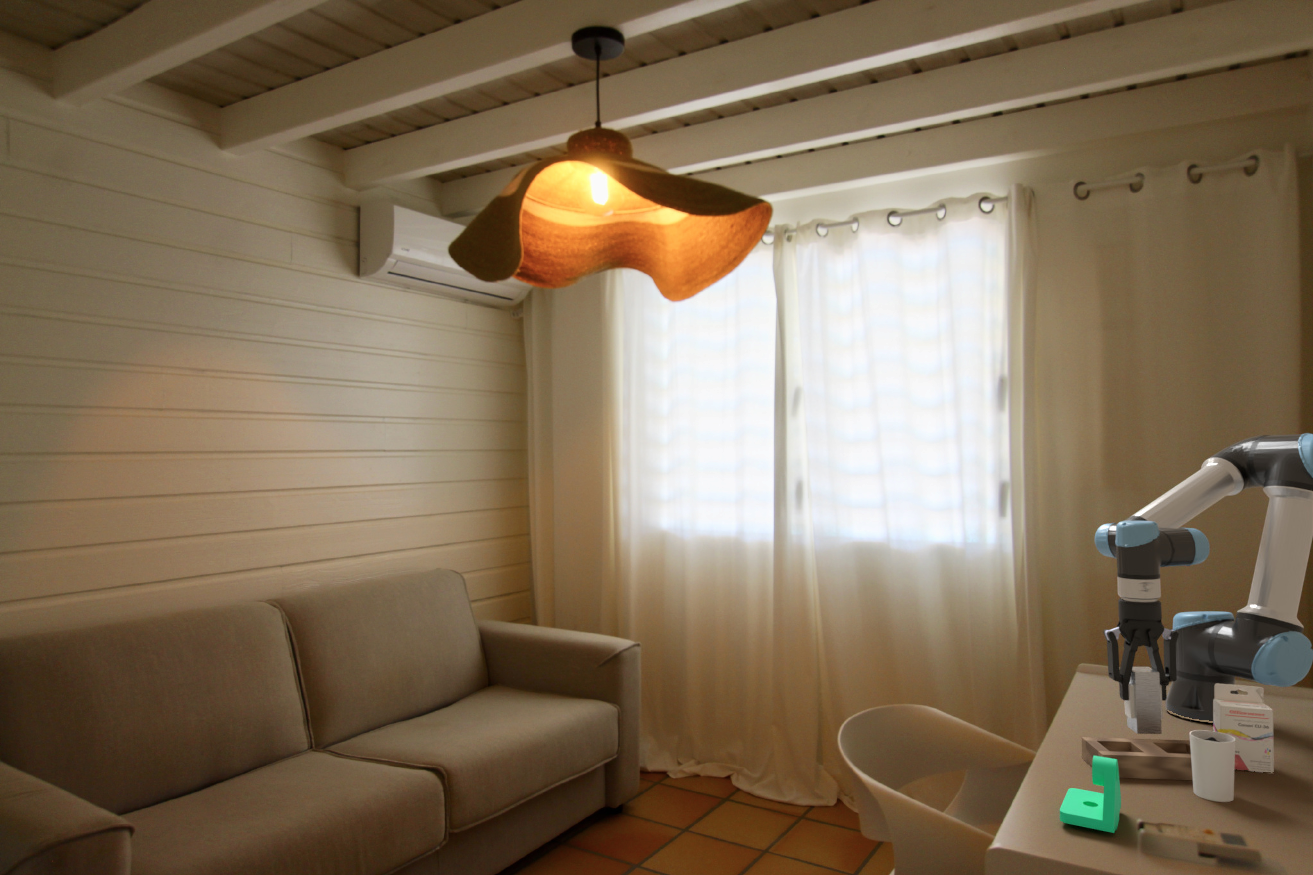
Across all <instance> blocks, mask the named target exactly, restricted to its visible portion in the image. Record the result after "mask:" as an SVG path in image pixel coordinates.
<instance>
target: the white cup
mask: <svg viewBox="0 0 1313 875" xmlns="http://www.w3.org/2000/svg"><path fill="white" fill-rule="evenodd" d="M1189 740H1190V748H1191V762H1192V776H1193V780H1192V787H1193V788H1192V790H1193V794H1195V795H1196V796H1197V797H1199V798H1202V799H1204V800H1207V801H1213V802H1221V803H1229V802H1231V801H1234V798H1235V797H1234V794H1235V791H1234V790H1235V769H1234V766H1235V738H1234V737H1232V736H1230V735H1228V734H1224V733H1220V732H1215V731H1213V730H1206V729H1196V730H1195V729H1193V730H1192V731H1189Z"/></svg>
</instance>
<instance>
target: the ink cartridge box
mask: <svg viewBox="0 0 1313 875" xmlns="http://www.w3.org/2000/svg"><path fill="white" fill-rule="evenodd" d="M1236 690H1238V691H1241V692H1245V693H1247V694H1240V693H1239V694H1231V693H1230V691H1236ZM1264 692H1265V688H1264V687H1262V686H1253V685H1243V684H1235V685H1232V684H1219V683H1216V684H1215V686H1214V699H1213V724H1212V725H1213V726H1212V729H1213V730H1212V731H1215V732H1220V733H1224V734H1228V735H1230V736H1232V737H1234V738H1235V766H1234V770H1236V769H1237V770H1238V771H1244V770H1248V771H1247V772H1254V771H1255V772H1256V773H1263V772H1271V773H1270V774H1273V773H1272V772H1274V770H1275V767H1274V766H1275V765H1274V764H1275V763H1274V762H1275V760H1274V758H1275V757H1274V755H1275V753H1274V750H1275V748H1274V746H1275V745H1274V711H1273V710H1274V709H1273V708H1271V707H1270V706H1269V705H1267V704H1266V703H1264V702H1265V701H1264V699H1265V698H1264V696H1265V693H1264ZM1237 770H1236V771H1237Z"/></svg>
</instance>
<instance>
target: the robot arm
mask: <svg viewBox="0 0 1313 875" xmlns="http://www.w3.org/2000/svg"><path fill="white" fill-rule="evenodd" d="M1252 488H1253V489H1254V488H1262V491H1263V493H1264V494H1265V496H1267V497H1268V499H1269V500H1268V506H1267V509H1266V514H1265V519H1264V523H1263V524H1264V525H1263V529H1262V534H1261V538H1260V542H1259V549H1258V553H1257V557H1256V562H1255V567H1254V570H1253V572H1254V573H1253V576H1252V581H1251V586H1250V590H1249V591H1250V592H1249V596H1248V600H1247V604H1246V606H1244V607H1242V608H1241V609H1238V610H1237V611H1236V615H1235V616H1236V617H1234V613H1232V612H1230V611H1215V610H1213V611H1210V610H1209V611H1203V610H1202V611H1184V612H1183V611H1182V612H1178V613H1176V614H1175V615H1174V616H1173V618H1172V629H1171V628H1169V629H1168V628H1165V626H1164V624H1163V622H1162V619H1163V615H1162V613H1163V612H1162V602H1161V600H1159V599H1161V597H1162V592H1161V589H1162V588H1161V568H1164V567H1165V568H1167V567H1168V568H1169V567H1182V566H1183V567H1184V566H1186V567H1190V566H1193V565H1194V566H1195V565H1200V564H1202V563H1203V562H1205V560H1207V558H1208V557H1209V555H1210V551H1211V550H1210V549H1211V547H1210V541H1209V538H1207V536H1206V535H1205V534H1204V532H1202V531H1201V530H1200V529H1198V528H1195V527H1194V528H1193V527H1191V528H1190V527H1182V526H1184V525H1185V524H1187V523H1188V522H1190V521H1191V520H1192V519H1194V518H1195V517H1197V516H1199V515H1200V514H1201V513H1203V512H1204V511H1205V510H1207V509H1209V508H1210V507H1212V506H1213V505H1215V504H1216V503H1217V502H1219V501H1220V500H1222V499H1223V498H1225V497H1227V496H1235V495H1238V494H1239V493H1240V492H1242V491H1244V490H1247V489H1252ZM1094 534H1095V535H1094V545H1095V548H1096V550H1097V551H1098V552H1099V554H1101V555H1102V556H1105V557H1108V558H1113V559H1116V570H1117V572H1116V574H1117V575H1116V576H1117V582H1116V583H1117V595H1118V596H1119V597H1120V598H1119V599H1118V600H1117V603H1118V604H1117V606H1118V622H1117V625H1116V627H1114V628H1111V629H1104V630H1102V633H1103V635H1104V639H1105V640H1106V650H1107V652H1106V653H1107V668H1108V669H1107V670H1108V672H1107V675H1108V677H1109V678H1110V679H1112V680H1113V681H1115V682H1118V684H1119V687H1118V688H1119V698H1120V699H1121V700H1123V701H1124V715H1125V716H1126V717H1127V716H1128V717H1130V718H1135V709H1134V685H1132V684H1130V683H1129V682H1130V677H1131V673H1132V668H1133V667H1134V662H1135V657H1136V652H1137V651H1138V650H1139V647H1145V650H1146V651H1147V655H1148V658H1149V662H1150V665H1151V668H1152V669H1154V670H1156V671H1158V672H1159V678H1160V704H1161V720H1163V719H1164V712H1163V701H1165V709H1166V708H1167V710H1169V711H1172V712H1173V713H1176V714H1178V715H1181V716H1184V717H1189V718H1192V719H1199V720H1209V721H1213V699H1214V686H1215V684H1216V683H1219V684H1232V685H1236V678H1240V679H1245V680H1249V681H1253V682H1255V683H1259V684H1262V685H1264V686H1274V687H1279V688H1287V687H1292V686H1294V685H1297V683H1298V682H1301V681H1302V680H1303V679H1304V678H1305V677H1306V676H1307V675H1308V673H1309V671H1310V669H1311V667H1312V665H1313V648H1312V646H1313V645H1312V642H1311V640H1310V639H1309V638H1308V637H1307V636H1306V635H1304V628H1305V627H1304V625H1303V624H1302V622H1301V621H1300V620H1299V619H1298V611H1299V606H1300V601H1301V596H1302V593H1303V592H1302V591H1303V586H1304V581H1305V577H1306V573H1307V572H1306V571H1307V567H1308V562H1309V556H1310V553H1311V552H1310V551H1311V547H1312V541H1313V433H1310V432H1305V433H1300V434H1298V433H1297V434H1271V435H1267V434H1266V435H1265V434H1264V435H1255V436H1251V437H1247V438H1244V439H1242V440H1240V441H1237V442H1235V443H1233V444H1231V445H1229V446H1227V447H1225V448H1223V449H1221V450H1220V451H1218V452H1216V453H1215V454H1213V455H1211V456H1210V457H1209V458H1207V459H1205V460H1204V461H1203V463H1202V464H1201V467H1200V469H1199V470H1197V471H1196V472H1194V473H1193V474H1192V475H1190V476H1189V477H1187V478H1185V479H1184V480H1182V481H1181V482H1180V483H1178V484H1177V485H1175V486H1174V487H1173V488H1170V489H1169V490H1168V491H1166V492H1165V493H1163V494H1162V495H1160V496H1159V497H1157V498H1155V500H1153V501H1152V502H1150V503H1149V504H1147V505H1145V506H1144V507H1143V508H1141V509H1140V510H1138V511H1137V512H1135V513H1134V514H1132V515H1131V516H1129V517H1127V518H1126V519H1124V520H1122V521H1119V522H1118V523H1117V522H1112V523H1111V522H1110V523H1104V524H1102V525H1100V526H1099V527H1098V528H1097V530H1096V532H1095V533H1094ZM1120 635H1121V636H1122V638H1123V639H1124V642H1123V653H1122V657H1121V662H1120V654H1119V642H1118V640H1119V638H1120V637H1119V636H1120ZM1161 636H1162V639H1163V661H1162V659H1161V654H1160V647H1159V644H1158V640H1159V639H1160V637H1161ZM1169 685H1170V687H1169V689H1168V693H1167V686H1169ZM1230 693H1231V694H1240V693H1239V690H1236V691H1230Z"/></svg>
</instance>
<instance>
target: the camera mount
mask: <svg viewBox="0 0 1313 875" xmlns="http://www.w3.org/2000/svg"><path fill="white" fill-rule="evenodd" d="M1091 779H1092V785H1094V786H1100V787H1103V793H1102V792H1097V791H1091V790H1087V789H1086V790H1085V789H1082V788H1075V787H1074V788H1073V787H1070V788H1068V789H1067V791H1066V794H1065V796H1064V798H1063V801H1062V804H1061V806H1060V808H1059V820H1060V822H1061V823H1064V824H1069V825H1073V826H1079V827H1083V828H1087V829H1092V830H1093V829H1094V830H1097V831H1103V832H1108V833H1113V834H1115V831H1117V830H1118V827H1119V826H1118V825H1119V821H1120V811H1121V810H1122V809H1121V808H1122V794H1121V785H1120V783H1121V782H1120V778H1119V770H1118V760H1117V759H1112V758H1106V757H1100V756H1093V761H1092V767H1091Z"/></svg>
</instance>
